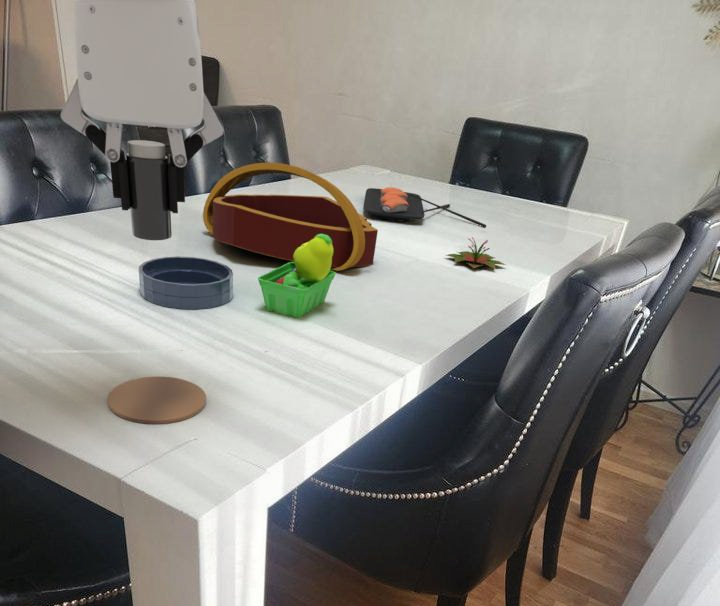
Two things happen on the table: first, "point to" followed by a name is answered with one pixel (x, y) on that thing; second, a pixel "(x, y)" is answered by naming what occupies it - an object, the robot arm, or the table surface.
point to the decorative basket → (288, 219)
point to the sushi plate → (400, 205)
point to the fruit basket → (300, 279)
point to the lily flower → (476, 257)
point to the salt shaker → (149, 190)
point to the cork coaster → (156, 400)
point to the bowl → (186, 282)
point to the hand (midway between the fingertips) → (150, 206)
